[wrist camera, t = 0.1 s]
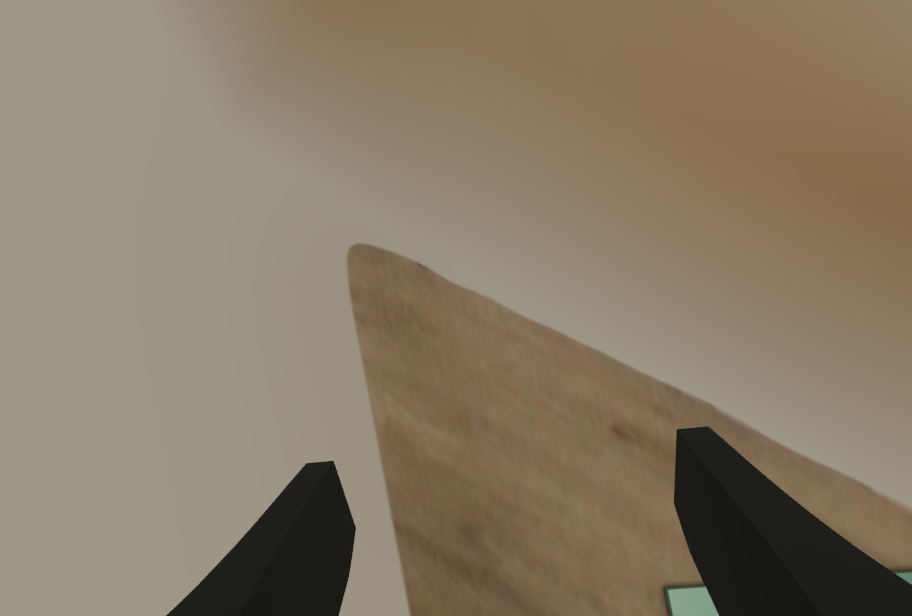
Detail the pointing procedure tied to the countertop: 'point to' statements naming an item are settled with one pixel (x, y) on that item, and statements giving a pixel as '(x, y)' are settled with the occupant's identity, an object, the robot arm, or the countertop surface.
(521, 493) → the countertop surface
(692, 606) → the header board
